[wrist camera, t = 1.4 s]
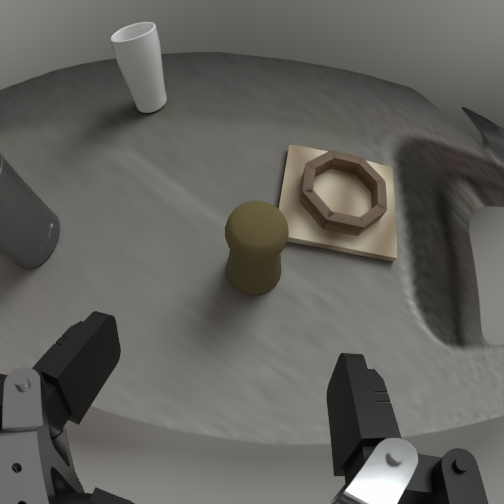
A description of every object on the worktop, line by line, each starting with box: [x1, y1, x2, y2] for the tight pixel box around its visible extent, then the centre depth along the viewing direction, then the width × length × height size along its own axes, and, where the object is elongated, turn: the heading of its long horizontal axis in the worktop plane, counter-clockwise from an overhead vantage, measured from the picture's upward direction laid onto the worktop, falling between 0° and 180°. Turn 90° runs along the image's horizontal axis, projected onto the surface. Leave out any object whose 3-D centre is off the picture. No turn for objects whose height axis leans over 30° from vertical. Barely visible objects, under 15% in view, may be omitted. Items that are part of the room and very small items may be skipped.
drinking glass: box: [111, 22, 167, 113], centre depth 37 cm, size 7×7×15 cm
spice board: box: [279, 144, 397, 262], centre depth 35 cm, size 15×14×4 cm
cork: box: [225, 201, 289, 296], centre depth 28 cm, size 6×6×11 cm
